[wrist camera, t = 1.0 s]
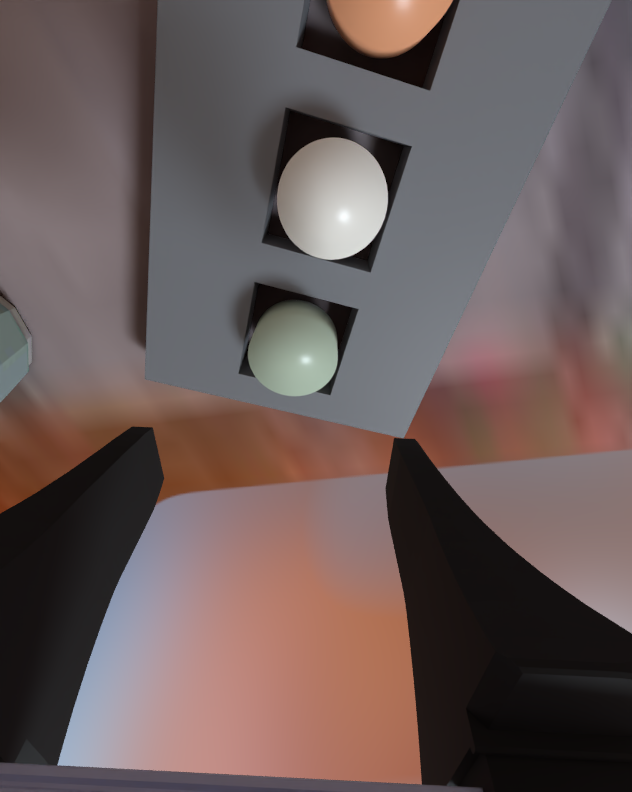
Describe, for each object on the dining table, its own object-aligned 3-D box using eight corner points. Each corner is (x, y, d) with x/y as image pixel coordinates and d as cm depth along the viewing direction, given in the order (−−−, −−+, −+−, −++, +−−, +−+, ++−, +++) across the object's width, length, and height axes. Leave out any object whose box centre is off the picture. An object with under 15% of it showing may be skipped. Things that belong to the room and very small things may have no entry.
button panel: (631, -101, 13) (676, -137, 11) (398, 417, 24) (403, 438, 22) (193, -278, 12) (169, -350, 10) (158, 361, 22) (144, 379, 21)
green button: (347, 311, 19) (348, 328, 17) (324, 383, 21) (324, 404, 19) (263, 290, 19) (256, 305, 17) (248, 365, 21) (241, 385, 19)
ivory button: (396, 154, 16) (404, 156, 14) (364, 258, 18) (367, 271, 16) (294, 123, 15) (290, 121, 13) (273, 233, 17) (267, 244, 16)
